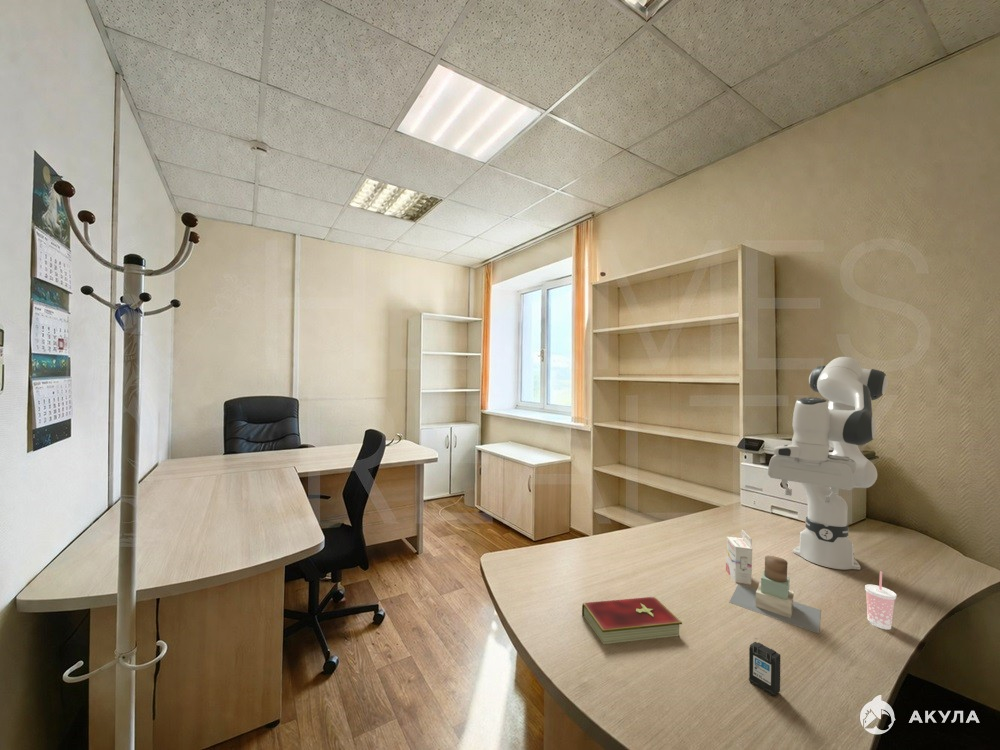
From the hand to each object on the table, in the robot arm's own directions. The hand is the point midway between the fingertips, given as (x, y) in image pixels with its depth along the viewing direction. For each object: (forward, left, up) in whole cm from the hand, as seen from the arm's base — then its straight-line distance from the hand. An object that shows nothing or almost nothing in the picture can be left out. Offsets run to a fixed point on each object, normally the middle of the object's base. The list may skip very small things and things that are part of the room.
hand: (808, 498), depth 119 cm
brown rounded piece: (+14, -6, -21) cm, 26 cm away
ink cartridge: (+51, -4, -29) cm, 59 cm away
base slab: (+14, -6, -29) cm, 32 cm away
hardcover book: (+50, -33, -30) cm, 67 cm away
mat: (+14, -6, -29) cm, 33 cm away
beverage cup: (+3, +16, -29) cm, 34 cm away
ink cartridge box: (+2, -17, -29) cm, 34 cm away
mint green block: (+14, -6, -25) cm, 29 cm away
